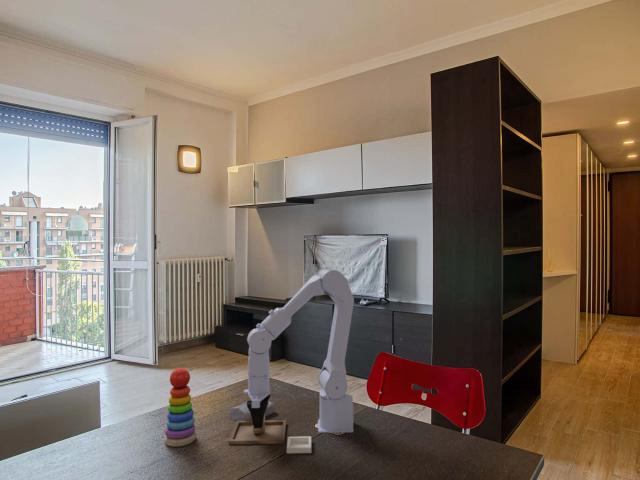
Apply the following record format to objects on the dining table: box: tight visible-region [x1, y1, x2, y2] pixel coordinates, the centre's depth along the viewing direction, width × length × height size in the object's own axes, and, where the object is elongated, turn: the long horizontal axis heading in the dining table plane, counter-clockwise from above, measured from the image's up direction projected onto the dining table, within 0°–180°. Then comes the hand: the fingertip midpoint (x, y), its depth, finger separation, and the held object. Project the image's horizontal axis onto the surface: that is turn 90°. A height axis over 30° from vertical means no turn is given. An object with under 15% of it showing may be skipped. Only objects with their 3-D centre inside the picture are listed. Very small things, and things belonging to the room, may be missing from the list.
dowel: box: [253, 414, 266, 434], centre depth 116 cm, size 3×3×6 cm
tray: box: [228, 419, 287, 446], centre depth 116 cm, size 14×12×1 cm
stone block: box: [228, 399, 276, 421], centre depth 129 cm, size 12×5×10 cm
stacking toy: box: [164, 367, 197, 448], centre depth 112 cm, size 8×8×19 cm
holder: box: [286, 435, 312, 454], centre depth 108 cm, size 6×6×2 cm
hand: (258, 424), depth 116 cm, fingers closed on dowel, 3 cm apart
